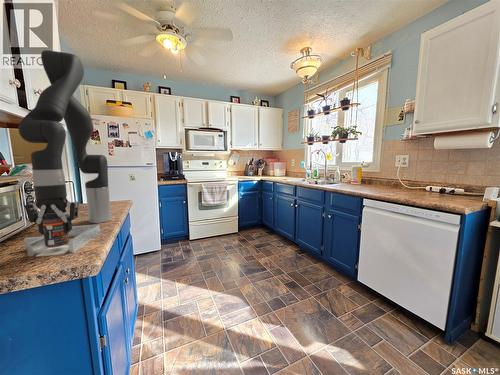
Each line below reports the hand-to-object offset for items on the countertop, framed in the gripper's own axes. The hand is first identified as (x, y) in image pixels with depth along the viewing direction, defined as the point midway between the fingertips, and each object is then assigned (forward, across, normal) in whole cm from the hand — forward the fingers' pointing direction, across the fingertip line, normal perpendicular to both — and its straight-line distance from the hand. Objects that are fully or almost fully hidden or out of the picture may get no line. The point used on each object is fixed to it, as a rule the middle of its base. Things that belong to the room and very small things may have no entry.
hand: (56, 233), depth 69 cm
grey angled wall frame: (+6, +3, -6) cm, 9 cm away
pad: (+6, 0, 0) cm, 6 cm away
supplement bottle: (+4, 0, 0) cm, 4 cm away
